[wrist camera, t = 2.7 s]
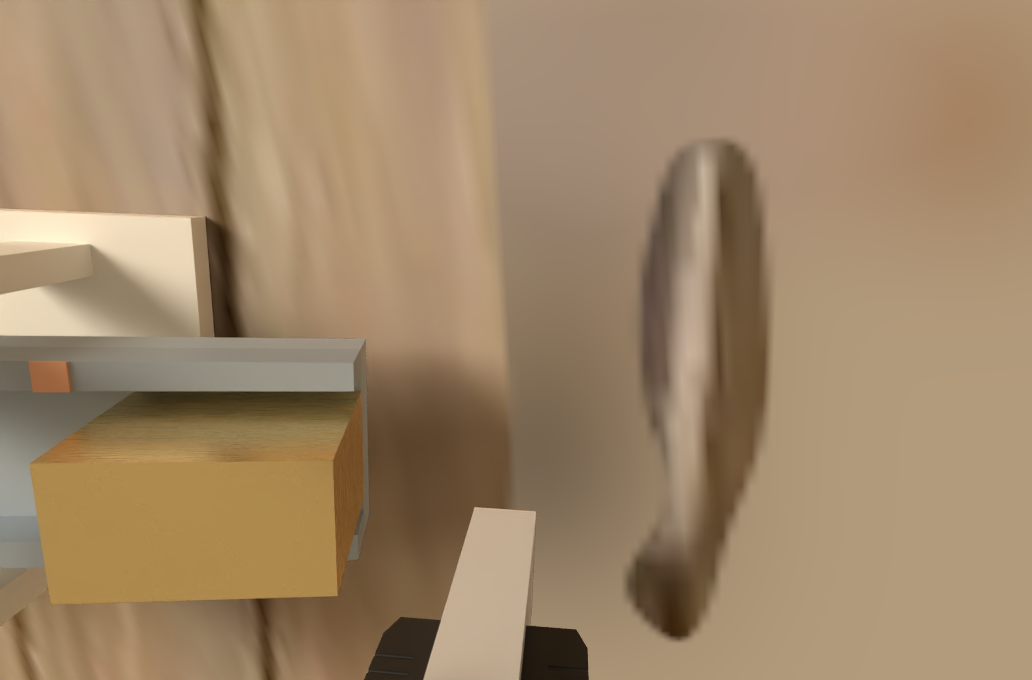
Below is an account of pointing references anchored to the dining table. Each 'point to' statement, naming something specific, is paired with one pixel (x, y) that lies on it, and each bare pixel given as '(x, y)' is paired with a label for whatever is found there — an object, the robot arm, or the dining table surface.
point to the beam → (141, 367)
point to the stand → (98, 296)
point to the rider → (203, 497)
